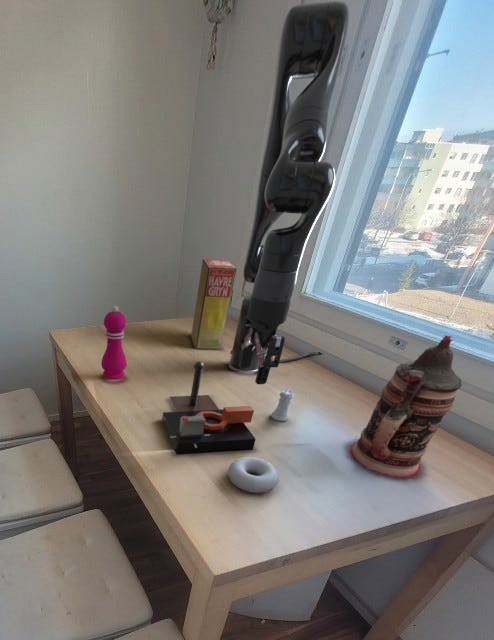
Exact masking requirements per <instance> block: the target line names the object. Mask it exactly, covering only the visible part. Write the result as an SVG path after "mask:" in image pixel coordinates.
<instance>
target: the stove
mask: <svg viewBox="0 0 494 640" xmlns="http://www.w3.org/2000/svg"><path fill="white" fill-rule="evenodd" d="M202 411H214V412H217V413H219V414H222V413H223V409H219V410H202ZM202 411H181V412H178V411H163V412H162V416H161V421H162V423H163V425H164V427H165V430H166V431H167V434H168V436H169V438H170V440H171V442H172V445H173V447H174V448H173V451H174V453H175V455H177V456H179V455H180V456H181V455H194V454H195V455H196V454H209V453H210V454H211V453H212V454H213V453H227V452H241V451H253V450H254V447H255V443H256V438H257V437H255V436H254V434H253V433H252V432H251V430H250V429H249V428H248V427H247V425H246V423H230V426H229V428H228V429H227V430H225V431H223V432H217V433H212V432H205V431H203V436H202V438H189V439H180V437H179V435H178V434H179V427H180V420H181V417H182V416H187V417H189V416H194V415H197V414H198V413H200V412H202Z"/></svg>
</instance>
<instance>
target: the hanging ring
mask: <svg viewBox="0 0 494 640" xmlns="http://www.w3.org/2000/svg"><path fill="white" fill-rule="evenodd" d="M254 413H255V410H254V408H253V407H252V406H251V405H240V406H239V405H238V406H224V407H223V413H222V414H219V413H217V412H214V411H202V412H200V413H198V414H197V415H196V416H203V417H214V418H217V419H219V420H220V421H221V422H220V423H219V424H209V423H206V422H205V425H204V428H205V429H208V430H209V429H210V430H220V429H222V428H224V427H225V426H226V425H227V424H230V423H244V424H246V423H252V419H253V416H254Z"/></svg>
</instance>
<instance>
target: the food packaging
mask: <svg viewBox="0 0 494 640" xmlns="http://www.w3.org/2000/svg"><path fill="white" fill-rule="evenodd" d="M236 274H237V267H236V266H235V265H234V264H232V263H231V261H230V259H221V258H220V259H219V258H202V262H201V269H200V275H199V281H198V289H197V295H196V302H195V309H194V316H193V322H192V328H191V335H190V338H191V340H192V343H193V347H194V349H197V350H222V345H223V343H222V342H223V337H224V332H225V327H226V323H227V318H228V314H229V313H228V312H229V309H230V303H231V298H232V294H233V293H232V292H233V289H234V283H235V279H236Z"/></svg>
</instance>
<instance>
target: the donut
mask: <svg viewBox="0 0 494 640" xmlns="http://www.w3.org/2000/svg"><path fill="white" fill-rule="evenodd" d="M227 473H228V478H229V480H230V481H231V483H232V485H234V486H236V487H237V488H238V489H240V490H243V491H245V492H249V493H252V494H253V493H254V494H260V493H266V492H269V491H272V490H274V488H275V487H276V486H277V485H278V484H279V477H280V475H279V472H278V470H277V469H276V467H275V466H273V464H271V463H270V462H268V460H265V459H262V458H260V457H254V456H244V457H240V458H237V459H235V460H234V461H233V462H231V463H230V465H229V467H228V469H227Z"/></svg>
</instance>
